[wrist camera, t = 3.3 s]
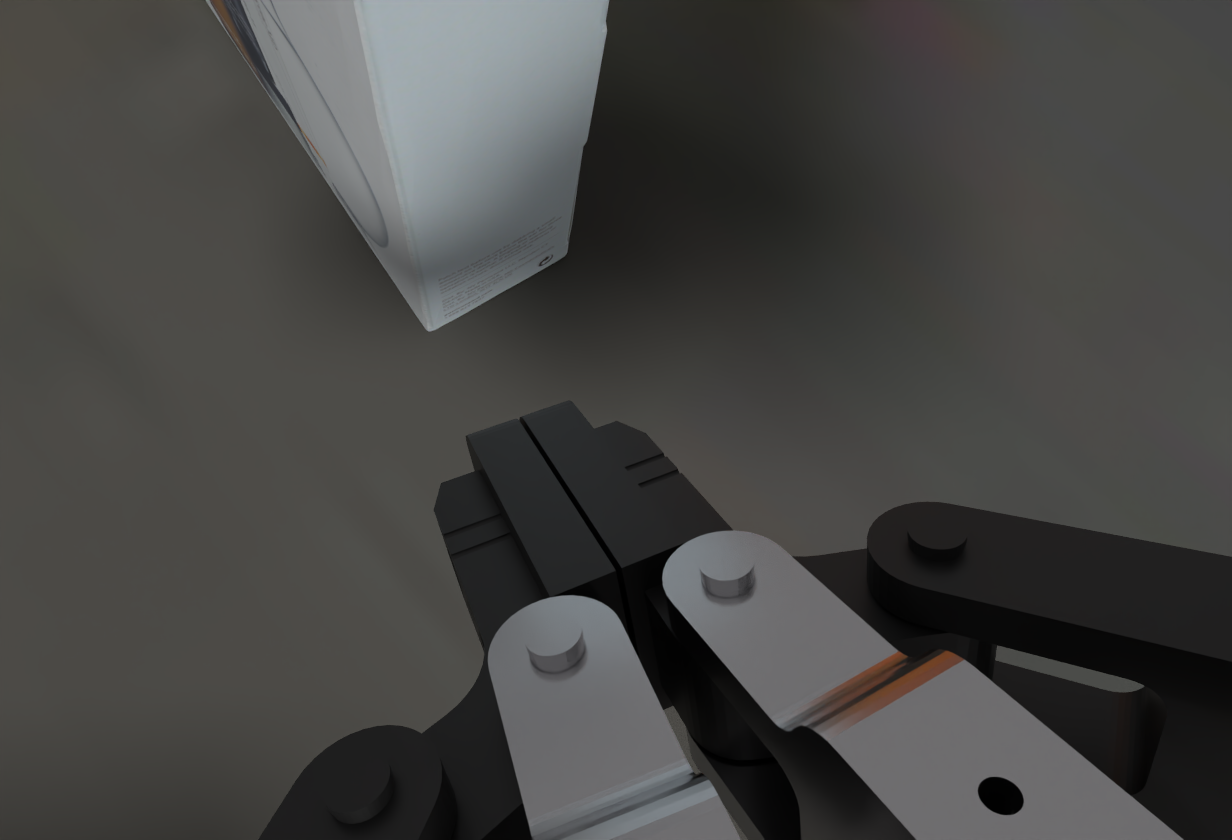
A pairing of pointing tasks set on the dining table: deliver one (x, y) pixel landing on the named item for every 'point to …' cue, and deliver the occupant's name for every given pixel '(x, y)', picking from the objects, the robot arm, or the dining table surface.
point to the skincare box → (437, 127)
